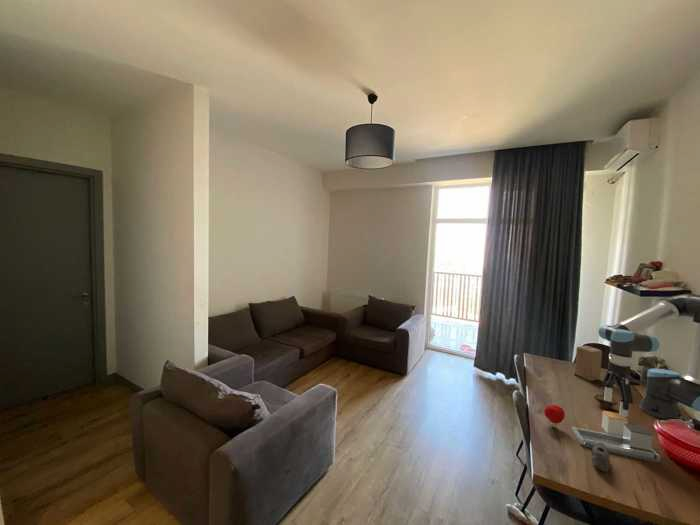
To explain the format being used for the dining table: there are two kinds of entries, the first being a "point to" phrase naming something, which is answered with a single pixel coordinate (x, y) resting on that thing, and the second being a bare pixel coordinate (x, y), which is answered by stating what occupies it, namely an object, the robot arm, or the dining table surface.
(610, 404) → the figurine
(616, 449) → the rail
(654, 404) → the robot arm
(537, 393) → the dining table surface
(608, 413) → the module
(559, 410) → the red round lump
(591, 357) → the wooden block
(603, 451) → the perforated stone tool
